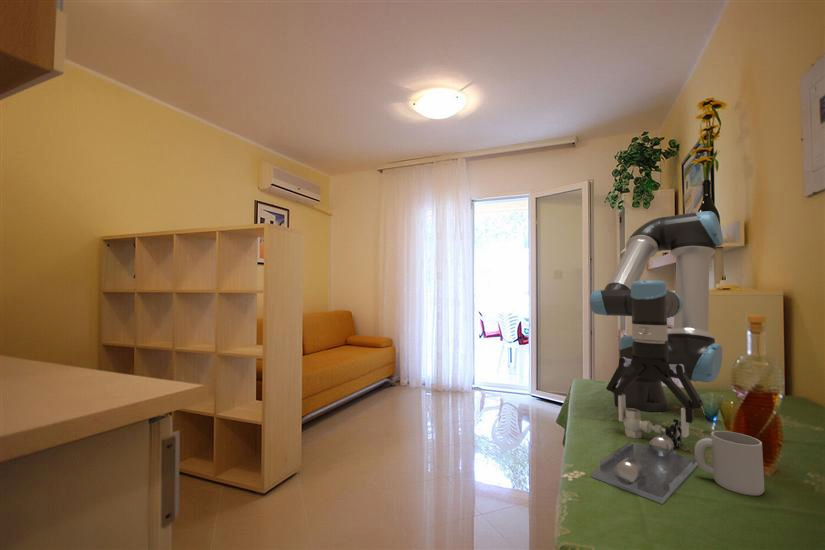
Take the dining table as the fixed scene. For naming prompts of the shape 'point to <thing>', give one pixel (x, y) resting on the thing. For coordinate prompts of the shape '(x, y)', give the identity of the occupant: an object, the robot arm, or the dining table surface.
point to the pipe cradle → (646, 468)
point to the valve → (649, 427)
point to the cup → (733, 461)
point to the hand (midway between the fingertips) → (652, 427)
